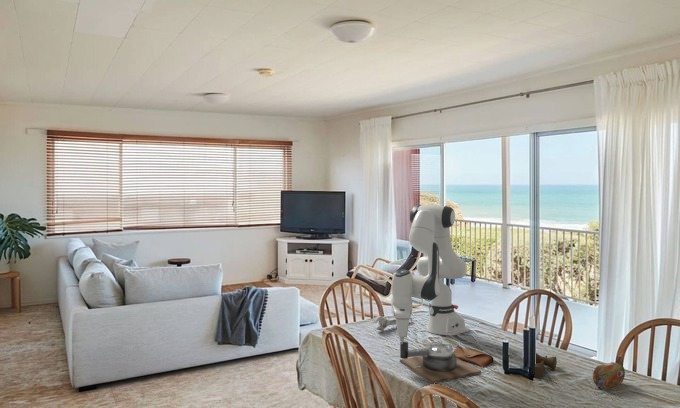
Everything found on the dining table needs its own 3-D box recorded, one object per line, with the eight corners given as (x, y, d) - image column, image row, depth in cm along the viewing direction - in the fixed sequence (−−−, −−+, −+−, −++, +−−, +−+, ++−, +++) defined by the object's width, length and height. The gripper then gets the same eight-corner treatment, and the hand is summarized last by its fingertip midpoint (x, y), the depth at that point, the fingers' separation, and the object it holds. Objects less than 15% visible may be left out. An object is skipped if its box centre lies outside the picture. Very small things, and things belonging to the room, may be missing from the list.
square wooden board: (445, 353, 215) (445, 342, 215) (481, 373, 194) (481, 361, 193) (399, 361, 205) (399, 350, 205) (432, 383, 184) (432, 370, 183)
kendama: (523, 376, 192) (534, 359, 208) (549, 383, 186) (558, 365, 203) (524, 362, 191) (535, 346, 208) (550, 368, 186) (559, 351, 202)
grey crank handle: (444, 349, 206) (445, 334, 206) (457, 358, 195) (457, 342, 195) (395, 354, 200) (395, 338, 200) (405, 364, 189) (406, 347, 189)
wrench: (411, 327, 263) (375, 332, 243) (409, 326, 265) (372, 332, 244) (413, 313, 264) (376, 317, 243) (410, 312, 265) (373, 316, 245)
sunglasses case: (447, 357, 211) (451, 342, 213) (454, 361, 216) (458, 347, 218) (485, 368, 199) (489, 352, 201) (491, 372, 203) (495, 357, 206)
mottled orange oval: (598, 390, 178) (599, 368, 177) (590, 387, 181) (591, 365, 180) (625, 383, 184) (626, 362, 183) (617, 380, 187) (618, 359, 186)
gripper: (394, 301, 212) (394, 331, 213) (394, 315, 192) (394, 348, 193) (408, 301, 211) (408, 332, 212) (410, 315, 191) (410, 349, 192)
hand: (401, 340), depth 202 cm, fingers closed
